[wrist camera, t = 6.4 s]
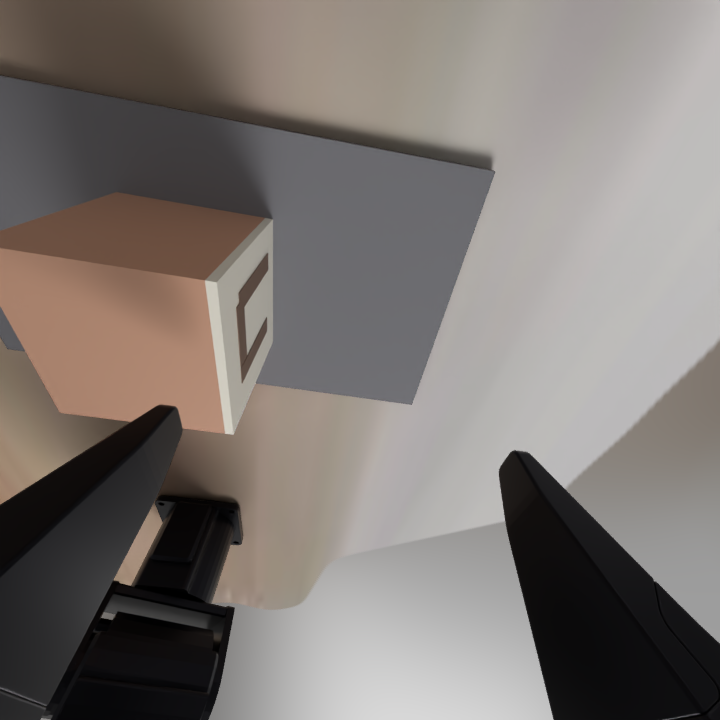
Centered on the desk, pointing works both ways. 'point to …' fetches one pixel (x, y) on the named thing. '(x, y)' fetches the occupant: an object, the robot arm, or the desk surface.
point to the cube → (143, 307)
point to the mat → (274, 201)
